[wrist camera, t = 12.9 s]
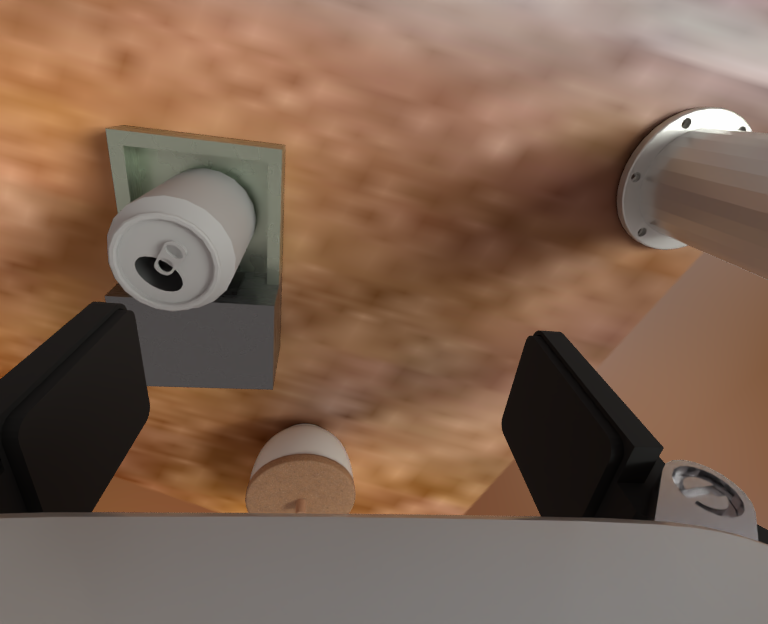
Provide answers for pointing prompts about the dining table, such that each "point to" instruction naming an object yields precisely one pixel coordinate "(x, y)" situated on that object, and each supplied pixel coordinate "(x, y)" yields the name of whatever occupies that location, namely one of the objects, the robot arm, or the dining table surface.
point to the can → (182, 240)
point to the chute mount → (250, 282)
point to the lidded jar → (301, 474)
